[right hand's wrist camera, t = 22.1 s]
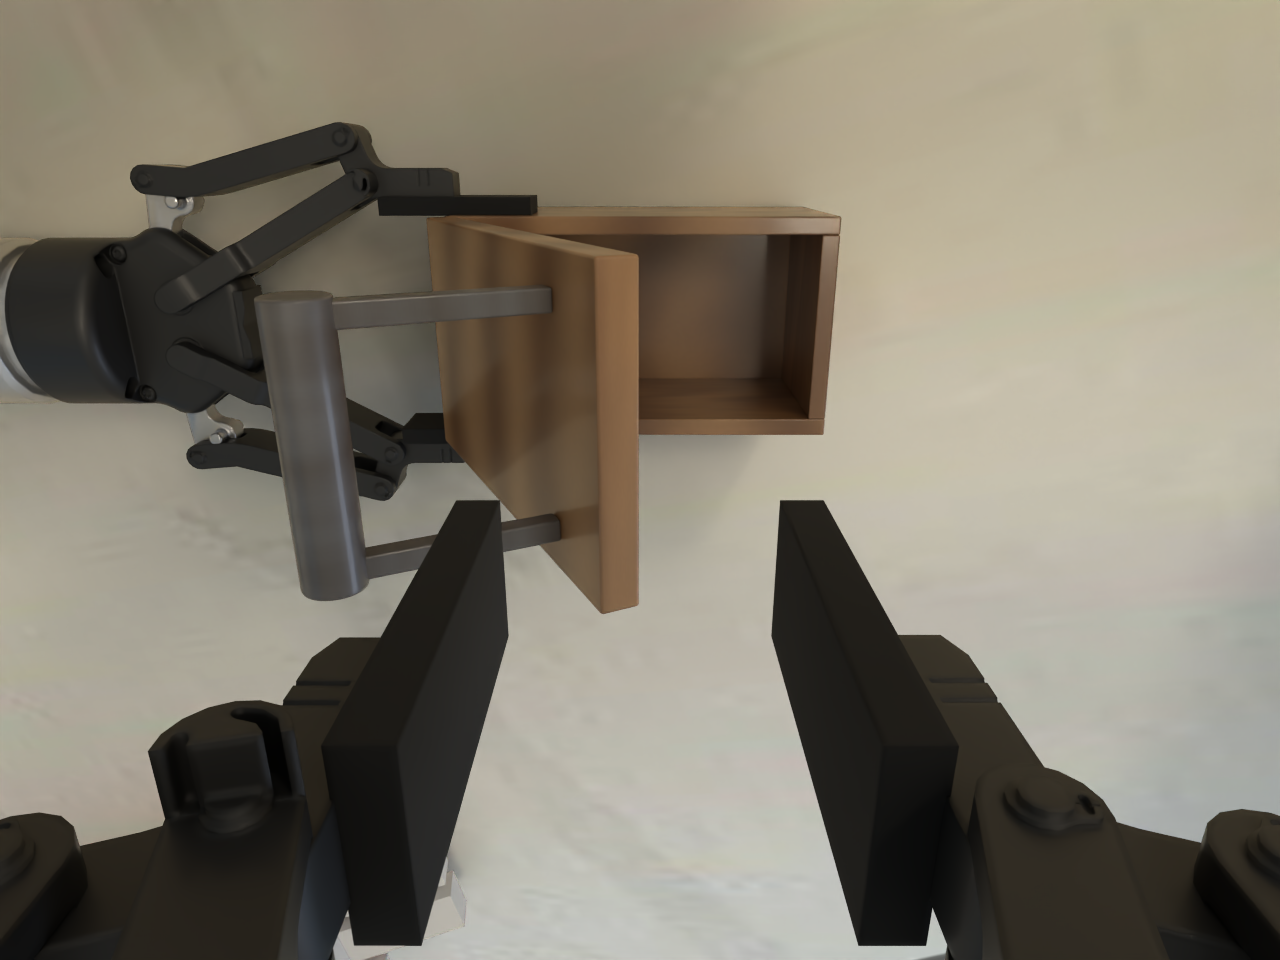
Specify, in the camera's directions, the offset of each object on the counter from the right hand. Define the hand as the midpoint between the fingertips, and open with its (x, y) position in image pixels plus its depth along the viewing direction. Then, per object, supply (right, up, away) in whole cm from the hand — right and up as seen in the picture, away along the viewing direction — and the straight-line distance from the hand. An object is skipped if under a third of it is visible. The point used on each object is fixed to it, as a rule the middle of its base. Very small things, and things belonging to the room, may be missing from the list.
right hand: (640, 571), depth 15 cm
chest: (0, +11, +30) cm, 32 cm away
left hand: (-5, +9, +24) cm, 26 cm away
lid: (-4, +5, +14) cm, 16 cm away
